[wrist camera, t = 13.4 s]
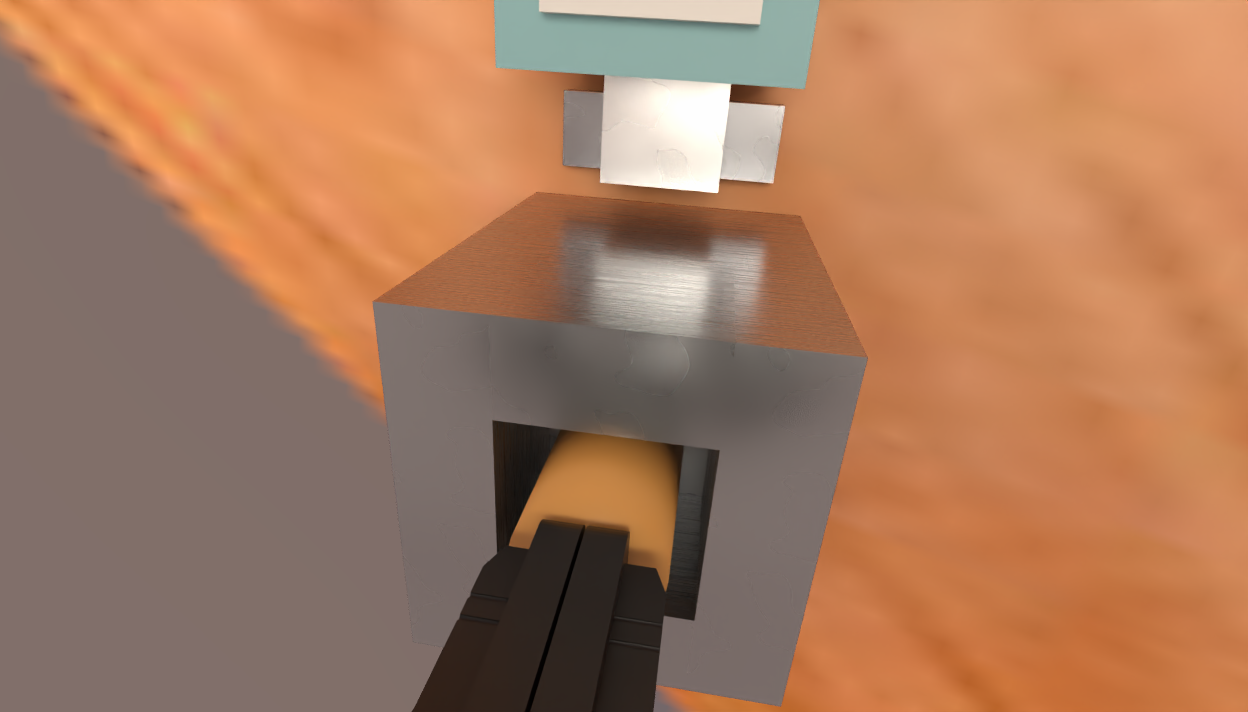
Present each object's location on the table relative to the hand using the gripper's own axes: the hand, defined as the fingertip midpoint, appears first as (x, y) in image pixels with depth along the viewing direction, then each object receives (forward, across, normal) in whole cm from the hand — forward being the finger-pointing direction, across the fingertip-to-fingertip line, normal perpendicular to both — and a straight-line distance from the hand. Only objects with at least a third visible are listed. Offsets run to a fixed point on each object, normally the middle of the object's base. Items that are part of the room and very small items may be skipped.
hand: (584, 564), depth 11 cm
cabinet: (+11, 0, 0) cm, 11 cm away
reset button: (+4, 0, 0) cm, 4 cm away
